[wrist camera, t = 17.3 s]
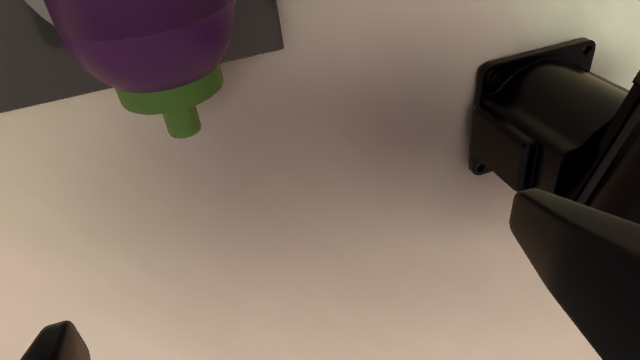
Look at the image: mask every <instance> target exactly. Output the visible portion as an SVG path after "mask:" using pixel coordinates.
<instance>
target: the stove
mask: <svg viewBox="0 0 640 360" xmlns="http://www.w3.org/2000/svg"><path fill="white" fill-rule="evenodd" d="M234 8H235V21H234V31H233V34H232V37H231V41H230V44H229V47H228V49H227V51H226V53H225V55H224V56H223V58H222V60H221V62H220V63H224V62H228V61H233V60H237V59H242V58H246V57H251V56H255V55H259V54H264V53H268V52H273V51H277V50H281V49H283V48H284V45H283V38H282V32H281V25H280V19H279V13H278V6H277V0H237V1H236V2H235V4H234ZM220 63H219V64H220ZM109 88H113V87H111V86H110V85H108V84H106V83H104V82H102V81H100V80H98V79H97V78H95V77H94V76H93V75H91V74H90V73H89V72H88V71H86V70H85V69H84V68H83V67H81V65H80V64H79V63H78V62H77V61H76V60H75V58H74V57H73V56H72V55H71V54H70V52H69V51H68V50H67V48H66V47H65V45H64V43H63V41H62V39H61V38H60V36H59V34H58V32H57V31H56V28H55V26H53V25H52V24H51V23H49V22H48V21H46V20H45V19H44V18H42V17H41V16H40V15H39V14H38V13H37V12H36V11H35V10H34V9H33V8H31V7H30V6H29V5H28V4H27V3H26V2H25V0H0V113H3V112H7V111H12V110H16V109H21V108H25V107H29V106H34V105H38V104H43V103H47V102H51V101H56V100H60V99H65V98H69V97H74V96H78V95H82V94H87V93H91V92H96V91H100V90H105V89H109Z"/></svg>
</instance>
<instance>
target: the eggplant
mask: <svg viewBox="0 0 640 360" xmlns="http://www.w3.org/2000/svg"><path fill="white" fill-rule="evenodd" d="M43 1H44V3H45V5H46V8H47V10H48V12H49V15H50V17H51V19H52V21H53V24H54V26H55V28H56V31H57V32H58V34H59V36H60V38H61V39H62V41H63V43H64V45H65V47H66V48H67V50H68V51H69V52H70V54H71V55H72V56H73V57H74V58H75V60H76V61H77V62H78V63H79V64H80V65H81V67H83V68H84V69H85V70H86V71H88V72H89V73H90V74H91V75H93V76H94V77H95V78H97V79H98V80H100V81H102V82H104V83H106V84H108V85H110V86H111V87H113V88H115V89H116V92H117V94H118V97H119V99H120V102H121V104H122V106H123V107H124V108H125V109H127V110H128V111H131V112H133V113H138V114H147V115H153V114H163V116H164V119H165V122H166V125H167V128H168V131H169V134H170V135H171V136H172V137H174V138H187V137H190V136H193V135H195V134H196V133H198V132H199V131H200V129H201V123H200V119H199V116H198V112H197V109H196V106H195V105H197V104H199V103H202V102H203V101H205V100H207V99H209V98H210V97H212V96H213V95H214V94H216V93H217V92H218V91H219V89H220V88H221V86H222V83H223V76H222V72H221V68H220V64H219V63H220V62H221V60H222V58H223V56H224V55H225V53H226V51H227V49H228V47H229V44H230V41H231V37H232V34H233V31H234V21H235V8H234V0H43Z"/></svg>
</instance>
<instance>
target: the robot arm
mask: <svg viewBox="0 0 640 360" xmlns="http://www.w3.org/2000/svg"><path fill="white" fill-rule="evenodd" d="M595 46H596V44H595V42H594V41H592V40H590V39H587V38H582V39H578V40H574V41H570V42H566V43H562V44H558V45H554V46H550V47H546V48H542V49H538V50H535V51H531V52H527V53H523V54H519V55H515V56H511V57H507V58H503V59H499V60H495V61H491V62H487V63H485V64H484V65H482V66H481V68H480V69H479V71H478V76H477V86H476V97H475V108H474V111H473V120H472V130H471V141H470V161H469V169H470V170H471V171H472V172H473V173H474V174H475V175H482V174H485V173H489V172H492V171H493V172H494V173H495V174H497V175H498V176H499V177H500V178H501V179H502V180H503V181H504V182H506V183H507V184H508V185H509V186H510V187H511V188H512V189H513V190H515V191H516V192H517V193H516V194H515V196H514V199H513V204H512V210H511V215H510V221H509V223H510V229H511V231H512V233H513V235H514V236H515V238H516V239H517V241H518V243H519V244H520V246H521V247H522V249H523V251H524V252H525V254H526V255H527V257H528V259H529V260H530V262H531V263H532V265H533V267H534V268H535V270H536V271H537V273H538V275H539V276H540V278H541V279H542V281H543V282H544V284H545V285H546V287H547V288H548V290H549V291H550V293H551V294H552V295H553V297H554V298H555V299H556V301H557V302H558V303H559V304H560V306H561V307H562V308H563V310H564V311H565V312H566V313H567V315H568V316H569V317H570V319H571V320H572V321H573V322H574V324H575V325H576V326H577V328H578V329H579V330H580V331H581V333H582V334H583V335H584V337H585V338H586V339H587V340H588V342H589V343H590V344H591V346H592V347H593V348H594V349H595V351H596V352H597V353H598V355H599V356H600V357H601V358H602V360H640V70H639V72H638V73H637V75H636V77H635V78H634V80H633V81H632V82H633V83H634V84H633V86H632V88H631V89H630V91H629V90H627V89H625V88H623V87H621V86H619V85H617V84H615V83H613V82H611V81H609V80H607V79H605V78H602V77H600V76H598V75H596V74H594V73H592V72H590V68H591V64H592V60H593V56H594V52H595ZM584 48H585V49H584ZM489 71H491V73H490V75H489V76H487V74H488V73H489ZM479 165H480V166H479ZM478 166H479V167H478ZM20 360H91V359H90V354H89V350H88V348H87V346H86V344H85V342H84V341H83V339H82V337H81V336H80V334H79V332H78V331H77V329H76V327H75V326H74V324H73V323H72V322H71V321H62V322H59V323H55V324H52V325H48V326H46V327H44V328H43V329H42V330H41V332H40V333H39V334H38V336H37V337H36V339H35V340H34V341H33V343H32V344H31V345H30V347H29V348H28V350H27V351H26V352H25V354H24V355H23V357H22V358H21V359H20Z"/></svg>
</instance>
